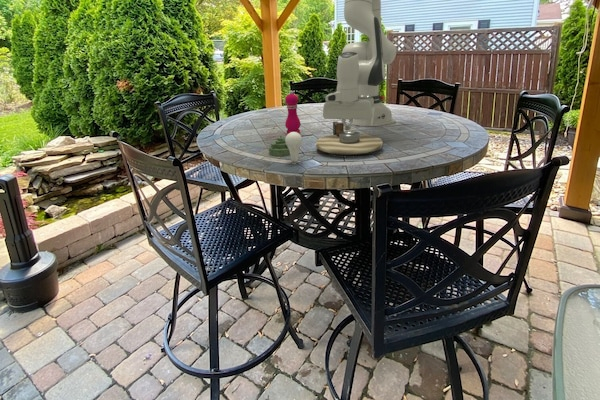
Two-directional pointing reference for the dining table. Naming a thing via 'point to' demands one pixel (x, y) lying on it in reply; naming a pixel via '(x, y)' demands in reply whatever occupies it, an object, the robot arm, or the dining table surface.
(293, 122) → the pepper mill
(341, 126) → the turntable
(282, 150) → the decorative artifact
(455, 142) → the dining table surface
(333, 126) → the pointer
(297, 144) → the lightbulb
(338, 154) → the turntable base
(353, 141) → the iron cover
